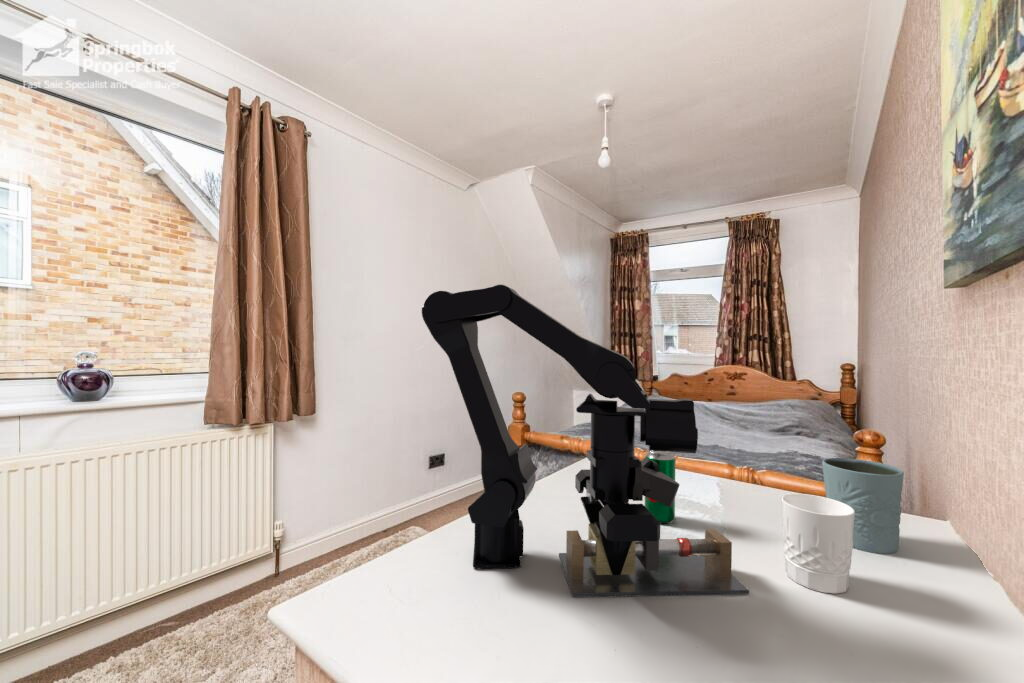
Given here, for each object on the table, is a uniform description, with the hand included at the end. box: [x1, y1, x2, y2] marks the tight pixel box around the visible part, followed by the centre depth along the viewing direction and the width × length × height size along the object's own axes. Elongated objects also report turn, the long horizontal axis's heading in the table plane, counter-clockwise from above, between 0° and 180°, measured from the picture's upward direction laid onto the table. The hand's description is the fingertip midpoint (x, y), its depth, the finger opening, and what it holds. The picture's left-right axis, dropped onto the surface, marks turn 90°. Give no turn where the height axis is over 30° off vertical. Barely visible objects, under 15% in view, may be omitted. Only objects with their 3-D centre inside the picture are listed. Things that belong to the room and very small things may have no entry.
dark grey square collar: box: [637, 540, 659, 571], centre depth 58 cm, size 2×4×4 cm, turn 3°
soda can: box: [644, 448, 676, 525], centre depth 76 cm, size 5×5×12 cm
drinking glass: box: [821, 457, 904, 555], centre depth 69 cm, size 10×10×12 cm
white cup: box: [781, 493, 855, 595], centre depth 57 cm, size 8×8×10 cm
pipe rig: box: [558, 528, 750, 598], centre depth 58 cm, size 22×10×5 cm, turn 93°
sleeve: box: [587, 523, 635, 575], centre depth 57 cm, size 5×5×5 cm
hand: (610, 564), depth 57 cm, fingers closed on sleeve, 5 cm apart
